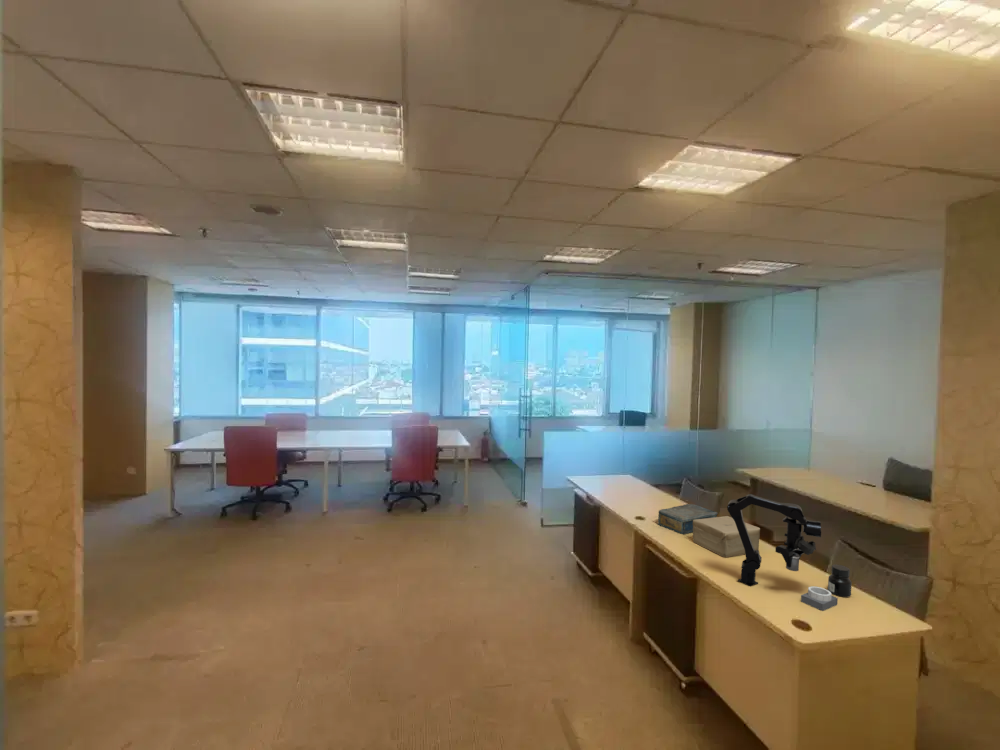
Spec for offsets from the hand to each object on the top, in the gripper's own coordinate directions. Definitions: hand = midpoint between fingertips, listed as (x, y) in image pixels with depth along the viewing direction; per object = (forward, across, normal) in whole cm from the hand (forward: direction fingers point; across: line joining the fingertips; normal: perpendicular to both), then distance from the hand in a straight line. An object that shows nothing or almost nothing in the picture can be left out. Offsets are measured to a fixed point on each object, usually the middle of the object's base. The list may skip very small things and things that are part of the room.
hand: (792, 566), depth 227 cm
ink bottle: (+12, +20, -11) cm, 26 cm away
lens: (+1, 0, 0) cm, 1 cm away
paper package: (+12, +21, +49) cm, 55 cm away
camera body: (+12, +1, -12) cm, 17 cm away
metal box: (+12, +30, +82) cm, 89 cm away
